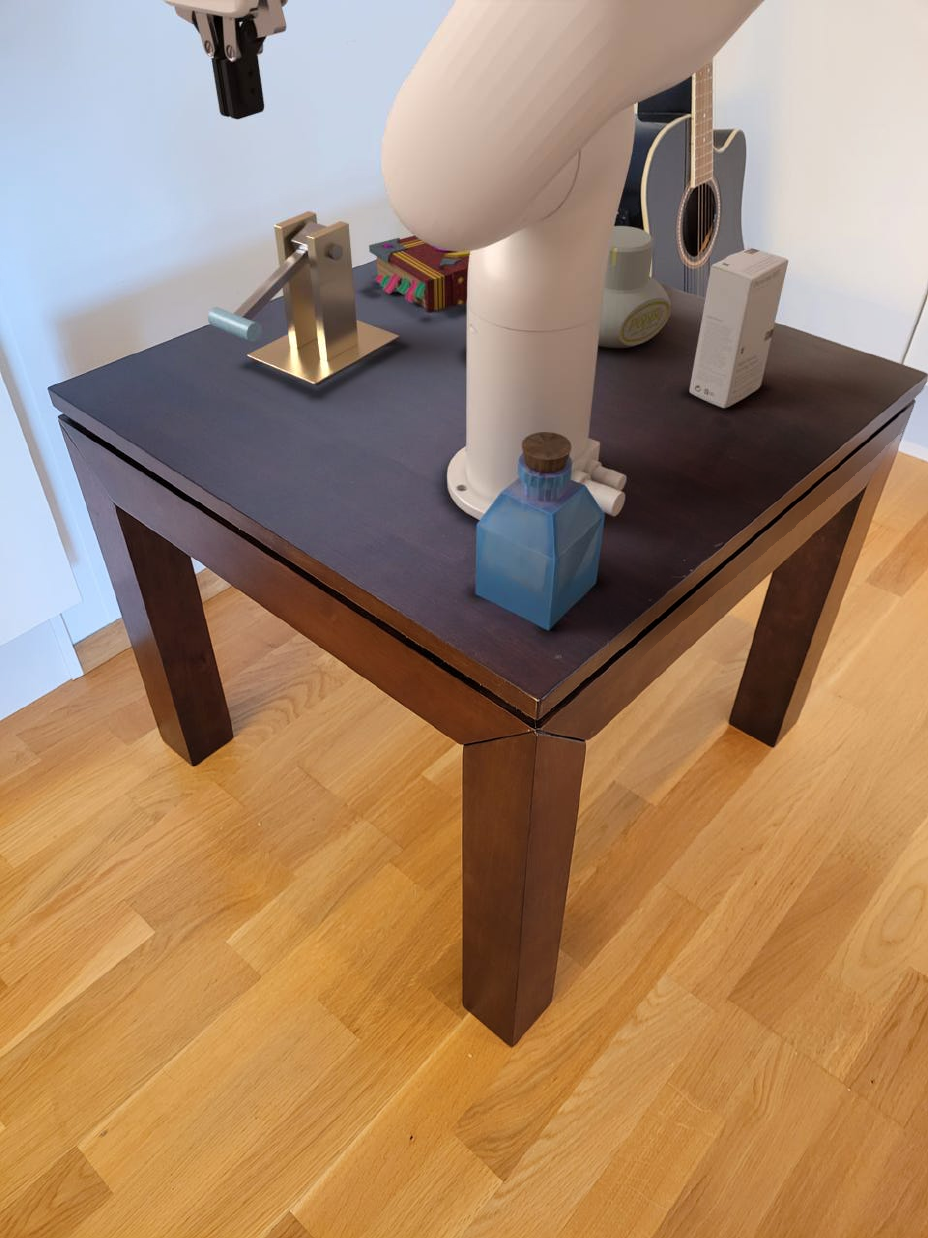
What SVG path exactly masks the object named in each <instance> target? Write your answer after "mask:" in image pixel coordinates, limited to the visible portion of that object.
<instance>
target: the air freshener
mask: <svg viewBox="0 0 928 1238" xmlns="http://www.w3.org/2000/svg"><path fill="white" fill-rule="evenodd" d="M654 243H655V240H654V238H653V236H652V235H651V234H650V233H649V232H648V231H646V230H643V229H642V228H639V227H633V226H627V225H614V228H613V233H612V239H611V244H610V251H609V257H608V265H607V272H606V281H605V290H604V299H603V307H602V313H601V322H600V332H599V341H598V347H603V348H607V349H629V348H633V347H635V346H638V345H640V344H644V343H646V342H647V341H649V340H650V339H652V338H653V337H655V336H656V335H657V334H658V333H660V331H661V330H662V329H663V328H664V326H665V325H666V324H667V322H668V321H669V318H670V315H671V311H672V310H671V309H672V308H671V307H672V305H671V300H670V297H669V295H668V292H667V290H665V288H664V287H663V286H662V285H661V283H660V282H658V280H656V279H655V278H653V277H651V276H650V275H651V267H652V261H653V260H652V259H653V253H654V245H655V244H654Z"/></svg>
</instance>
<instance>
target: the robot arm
mask: <svg viewBox="0 0 928 1238" xmlns="http://www.w3.org/2000/svg"><path fill="white" fill-rule="evenodd" d="M162 1H163V2H164V3H165V4H167V5H169V6H171V7H173V8H174V11H175V13H176V15H177V16H178V17H180V18H181V19H183V20H185V21H186V22H188V23H189V24H191V25H193V27H194V28H195V29H196V31H197V32H198V34H199V36H200V38H201V43H202V47H203V51H204V53H205V54H206V55H207V56H208V57H211V58H210V59H211V65H212V73H213V78H214V84H215V85H214V86H215V91H216V97H217V103H218V110H219V114H220V115H221V116H223V117H227V118H229V117H230V118H231V119H234V120H241V119H244V118H248V117H251V116H254V115H256V114H260V113H263V112H264V110H265V102H264V101H265V99H264V93H263V85H262V78H261V70H260V62H259V55H262V54H263V52H264V42H265V41H266V39H267V37H269V36H273V35H277V34H282V33H284V32H286V30H287V22H286V17H285V14H284V10H283V7H285V6H286V5H287V4H288V2H289V0H162ZM765 1H766V0H455V1H454V3H453V4H452V5H451V7H450V9H449V10H448V11H447V14H446V15H445V17H444V19H443V20H442V22H441V23H440V24H439V27H438V28H437V29H436V31H435V32H434V34H433V35H432V37H431V39H430V40H429V42H428V43H427V45H426V47H425V48H424V50H423V51H422V53H421V55H420V57H419V58H418V59H417V61H416V63H415V64H414V66H413V67H412V69H411V70H410V72H409V74H408V75H407V76H406V78H405V80H404V82H403V84H402V85H401V87H400V89H399V91H398V92H397V95H396V96H395V98H394V100H393V103H392V106H391V107H390V110H389V112H388V114H387V117H386V122H385V126H384V130H383V133H382V134H383V135H382V141H381V149H380V150H381V151H380V155H381V156H380V157H381V158H380V162H381V163H380V165H381V174H382V180H383V186H384V189H385V192H386V196H387V198H388V201H389V203H390V205H391V208H392V210H393V212H394V214H395V215H396V217H397V218H398V220H399V221H400V223H402V225H403V226H404V227H405V229H406V230H408V231H409V232H410V233H411V234H412V236H414V235H415V236H416V237H417V238H419V239H420V240H422V241H424V242H425V243H427V244H429V245H432V246H434V247H437V248H439V249H443V250H448V251H461V252H464V251H470V256H469V265H468V280H467V302H466V403H465V404H466V409H465V410H466V411H465V412H466V413H465V417H466V419H465V420H466V421H465V423H466V425H465V429H466V430H465V433H466V435H465V437H466V439H465V444H466V445H465V446H464V447H462V448H461V449H460V450H459V451H457V452H456V453H455V455H454V456H453V457H452V458H451V460H450V462H449V464H448V467H447V473H446V482H447V491H448V494H449V495H450V498H451V499H452V500H453V502H454V503H455V504H456V506H458V507H459V508H460V510H463V511H464V512H465V513H466V514H468V515H469V516H472V518H475V519H477V520H478V521H480V520H481V518H482V517H483V515H484V514H485V513H486V511H487V510H488V509H489V507H490V506H491V505H492V503H493V502H494V501H495V499H496V498H497V497H498V495H499V494H500V493H501V492H502V491H503V490H504V489H505V488H507V487H508V486H509V485H511V484H512V483H513V482H514V481H516V480H517V479H518V478H519V476H518V461H519V457H520V456H521V454H522V453H523V451H522V446H521V445H522V441H523V440H524V439H525V437H527V436H529V435H531V434H534V433H537V432H552V433H556V434H560V435H562V436H564V437H566V438H567V439H568V440H569V441H570V443H571V445H572V447H571V451H570V454H569V456H570V457H571V460H572V472H571V480H573V481H576V482H578V483H581V484H583V485H585V486H586V487H587V488H588V490H589V491H590V493H591V494H592V496H593V497H594V499H595V500H596V502H597V503H598V505H599V506H600V508H601V509H602V511H603V512H604V514H606V515H609V516H611V517H616V516H617V515H619V513H620V512H621V511H622V508H623V507H624V504H625V502H626V501H625V500H626V494H625V492H624V491H622V490H623V489H624V487H625V485H626V483H627V475H626V474H624V473H621V472H619V471H617V470H613V469H608V468H607V467H603V465H602V462H601V461H599V458H600V457H599V456H600V448H601V442H600V441H597V440H594V439H592V438H589V437H590V436H589V435H590V424H591V416H592V405H593V399H594V397H593V396H594V387H595V378H596V368H597V359H598V349H599V346H598V341H599V332H600V322H601V313H602V307H603V299H604V290H605V281H606V272H607V265H608V257H609V251H610V244H611V239H612V233H613V228H614V226H615V223H616V219H617V214H618V211H619V207H620V203H621V199H622V196H623V192H624V188H625V184H626V180H627V176H628V173H629V168H630V164H631V160H632V154H633V151H634V142H635V132H636V111H635V105H636V104H638V103H641V102H643V101H645V100H647V99H649V98H651V97H654V96H656V95H658V94H660V93H662V92H665V91H667V90H669V89H671V88H674V87H675V86H677V85H679V84H680V83H682V82H684V81H687V79H689V78H691V77H692V76H693V75H694V74H696V73H697V72H700V70H701V69H703V68H704V67H705V66H707V65H708V63H709V62H711V61H712V59H714V57H715V56H716V55H718V53H719V52H720V51H721V50H722V49H723V48H724V46H725V45H726V44H727V43H728V42H729V41H730V39H731V38H733V36H734V35H735V33H737V31H738V30H739V29H740V28H741V27H742V26H743V25H744V24H745V22H746V21H747V20H748V19H749V18H750V17H751V16H752V15H753V13H755V11H756V10H757V9H758V8H759V7H760V6H761V5H762V4H763V3H764V2H765Z"/></svg>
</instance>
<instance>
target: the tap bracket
mask: <svg viewBox="0 0 928 1238" xmlns="http://www.w3.org/2000/svg"><path fill="white" fill-rule="evenodd" d="M310 221H311V222H314V223H318V217H317V212H313V211H310V210H307V211H305V212H303V213H300V214H298V215H296V216H295V215H294V216H293V217H291V218H288V219H286V220H284V221H283V220H282V221H281V222H279V223H276V224H274V225H273V228H274V235H275V236H274V237H275V243H276V250H277V257H278V265H279V267H280V266H281V265H282V264H283V263H284V262H285V261H286V260H287V259H288V258H289V257H290V256H291V255H292V254H293V253H294V252H295V249H294V246H293V244H292V242H291V240H292V239H293V238H294V237H295V236H296V235H297V234H298V233H299V232H300V231H301V230H302V229H303V228H304V227H305V226H306V225H307V224H308V223H309V222H310ZM306 237H307V246H308V255H309V264H310V265H308V264H305V265H304V266H303V268H302V269H301V270H300V271H299V272H298V273H297V274H296V275H295V276H294V277H293V278H292V279H291V280H290V281H289V282H288V283H287V284H286V285H285V286H284V287H283V288H282V294H283V295H282V296H283V302H284V309H285V318H286V325H287V331H288V333H287V334H284V335H283V336H282V337H280V338H278V339H277V338H276V340H273V341H272V342H269V343H267V344H266V345H263V346H262V347H260V348H258V349H256V350H254V351H252V352H250V353H248V354H247V355H246V357H247V358H248V359H251V360H254V361H255V362H258V363H259V364H262V365H265V366H267V367H270V368H272V369H274V370H277V371H279V372H281V373H284V374H286V375H289V376H291V377H293V378H296V379H298V380H301V381H303V382H305V383H307V384H310V385H312V386H314V387H315V386H317V385H319V384H320V383H322V382H324V381H326V380H328V379H329V378H331V377H333V376H335V375H336V374H338V373H340V372H342V371H343V370H345V369H347V368H348V367H351V366H352V365H354V364H356V363H357V362H359V361H361V360H362V359H365V358H366V357H368V356H370V355H371V354H373V353H375V352H377V351H378V350H381V349H383V348H384V347H385V346H387V345H389V344H391V343H392V342H394V341H396V340H398V339H400V335H399V334H395V333H393V332H391V331H389V330H388V331H387V330H385V329H383V328H379V327H377V326H374V325H372V324H369V323H366V322H364V321H361V320H358V319H357V309H356V298H355V297H356V296H355V286H354V275H353V273H354V272H353V264H352V263H353V260H352V249H351V248H352V247H351V236H350V224H349V223H348V222H346V221H342V220H339V221H337V222H335V223H333V224H330V225H328V226H327V227H326V228H324V229H321V230H319V231H317V232H314V233H312V234H310V235H307V236H306Z"/></svg>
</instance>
